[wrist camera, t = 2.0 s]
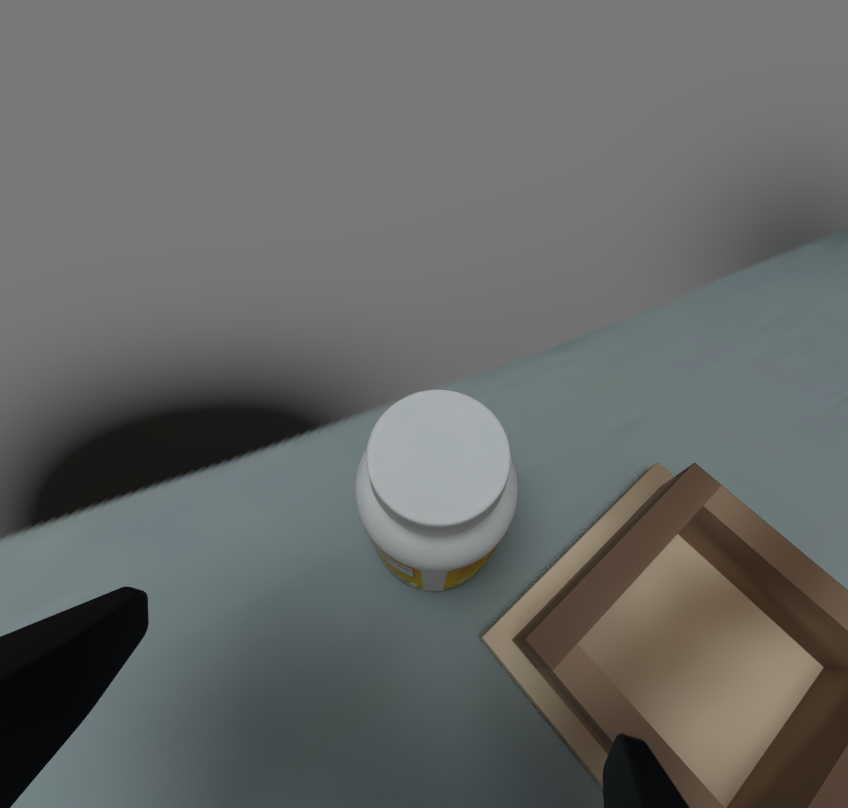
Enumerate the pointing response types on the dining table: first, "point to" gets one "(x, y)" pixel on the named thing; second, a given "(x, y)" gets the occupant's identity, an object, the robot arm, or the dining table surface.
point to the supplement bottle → (436, 488)
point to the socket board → (691, 648)
